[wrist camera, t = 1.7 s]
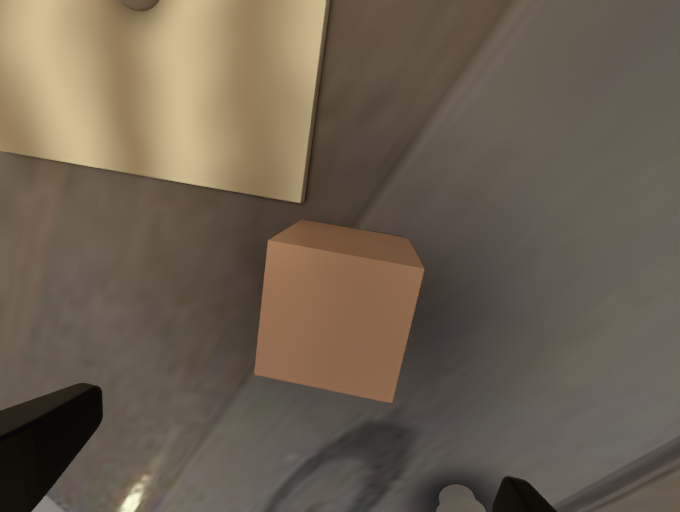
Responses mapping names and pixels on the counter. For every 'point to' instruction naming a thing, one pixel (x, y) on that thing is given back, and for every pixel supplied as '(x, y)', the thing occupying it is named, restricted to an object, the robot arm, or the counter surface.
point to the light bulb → (458, 500)
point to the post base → (166, 88)
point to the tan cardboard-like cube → (337, 308)
